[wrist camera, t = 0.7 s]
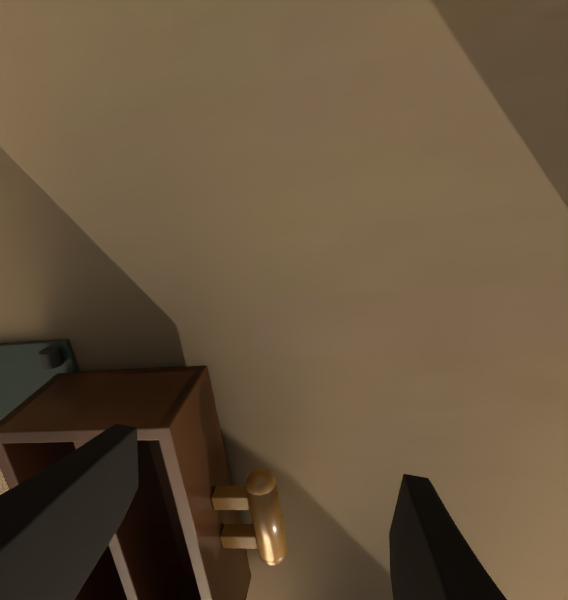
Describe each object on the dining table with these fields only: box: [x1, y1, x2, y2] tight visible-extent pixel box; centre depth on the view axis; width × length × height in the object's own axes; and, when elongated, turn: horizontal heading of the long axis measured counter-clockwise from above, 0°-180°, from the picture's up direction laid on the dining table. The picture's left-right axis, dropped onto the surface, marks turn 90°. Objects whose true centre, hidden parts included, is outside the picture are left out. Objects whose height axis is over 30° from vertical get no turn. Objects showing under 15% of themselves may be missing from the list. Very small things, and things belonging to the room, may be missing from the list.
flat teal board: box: [0, 339, 78, 420], centre depth 26 cm, size 7×17×1 cm, turn 8°
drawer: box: [0, 366, 287, 600], centre depth 23 cm, size 5×14×11 cm
